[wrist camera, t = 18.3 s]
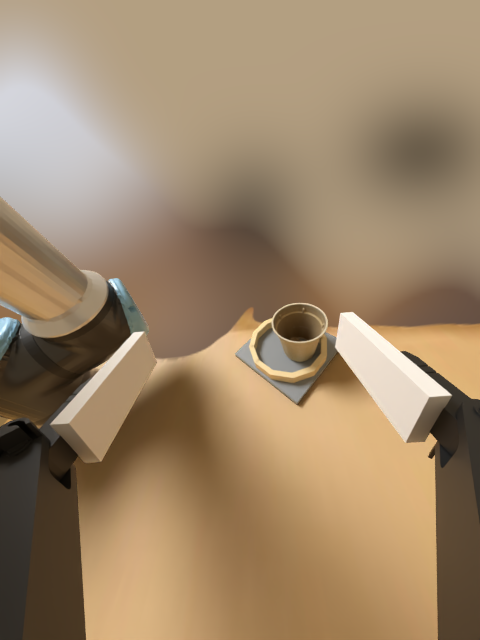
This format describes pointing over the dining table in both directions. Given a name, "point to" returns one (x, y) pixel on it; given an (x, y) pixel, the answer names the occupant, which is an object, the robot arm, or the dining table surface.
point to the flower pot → (299, 329)
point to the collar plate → (285, 361)
